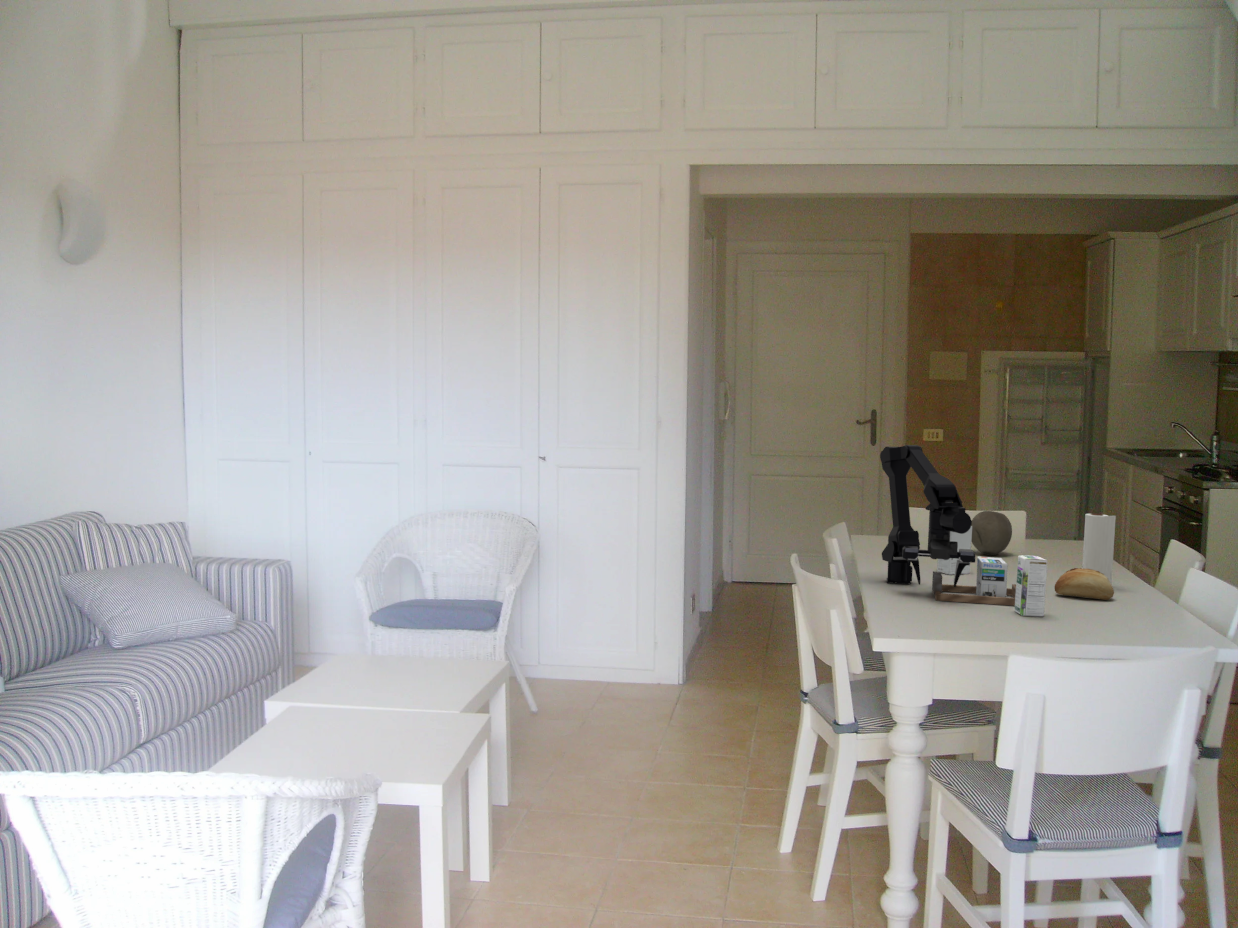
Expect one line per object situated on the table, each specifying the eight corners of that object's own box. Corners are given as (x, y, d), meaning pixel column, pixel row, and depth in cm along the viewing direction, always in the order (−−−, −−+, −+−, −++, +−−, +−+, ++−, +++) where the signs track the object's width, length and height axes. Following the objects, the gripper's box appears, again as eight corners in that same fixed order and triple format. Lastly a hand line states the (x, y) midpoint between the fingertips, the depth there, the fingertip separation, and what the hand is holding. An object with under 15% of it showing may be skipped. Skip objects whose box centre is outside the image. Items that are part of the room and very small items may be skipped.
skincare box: (949, 575, 323) (951, 526, 321) (935, 571, 328) (938, 523, 327) (971, 573, 326) (973, 525, 325) (957, 570, 331) (960, 522, 330)
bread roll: (1052, 592, 299) (1053, 564, 299) (1110, 596, 295) (1112, 568, 294) (1055, 598, 290) (1057, 569, 290) (1115, 603, 286) (1117, 573, 285)
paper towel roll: (1078, 587, 307) (1082, 513, 305) (1085, 584, 311) (1089, 512, 310) (1104, 591, 302) (1108, 516, 301) (1111, 588, 307) (1115, 514, 305)
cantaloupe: (1017, 558, 358) (1019, 514, 357) (975, 557, 358) (977, 513, 357) (1003, 551, 372) (1005, 509, 371) (962, 550, 372) (964, 508, 371)
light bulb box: (1006, 604, 281) (1008, 563, 280) (979, 602, 282) (981, 562, 281) (1000, 596, 291) (1002, 557, 290) (974, 594, 293) (976, 555, 292)
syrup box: (1013, 611, 271) (1016, 554, 270) (1037, 611, 271) (1040, 555, 270) (1021, 616, 266) (1024, 558, 265) (1045, 616, 266) (1048, 559, 264)
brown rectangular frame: (934, 600, 283) (935, 578, 282) (931, 589, 297) (932, 569, 297) (1023, 606, 278) (1025, 584, 277) (1016, 595, 292) (1017, 574, 292)
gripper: (904, 530, 283) (902, 588, 284) (978, 534, 279) (975, 593, 280) (903, 525, 294) (901, 581, 295) (974, 528, 289) (971, 585, 291)
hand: (936, 585), depth 290 cm, fingers open, 9 cm apart
